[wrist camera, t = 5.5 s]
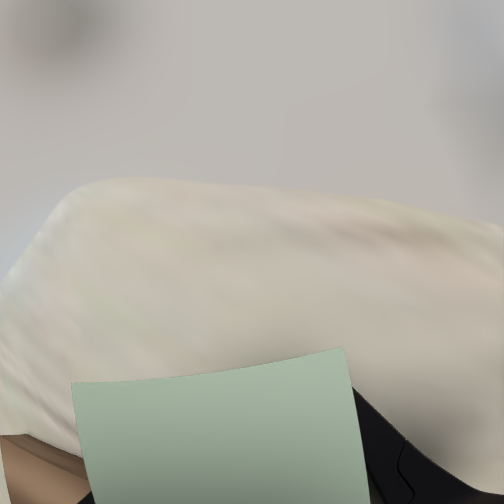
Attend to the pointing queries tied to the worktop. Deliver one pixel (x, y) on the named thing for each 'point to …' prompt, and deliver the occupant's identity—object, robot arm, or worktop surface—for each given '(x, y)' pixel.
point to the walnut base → (42, 472)
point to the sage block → (226, 436)
